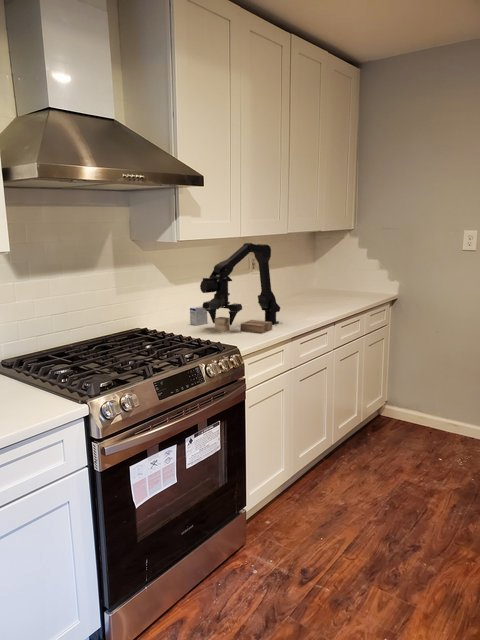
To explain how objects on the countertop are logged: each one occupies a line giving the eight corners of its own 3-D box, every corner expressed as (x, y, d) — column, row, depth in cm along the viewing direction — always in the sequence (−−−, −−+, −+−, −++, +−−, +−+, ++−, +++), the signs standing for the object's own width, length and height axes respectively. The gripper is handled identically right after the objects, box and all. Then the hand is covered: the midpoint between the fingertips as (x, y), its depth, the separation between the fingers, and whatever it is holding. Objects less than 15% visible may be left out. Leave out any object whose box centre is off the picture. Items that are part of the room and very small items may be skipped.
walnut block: (251, 327, 248) (251, 319, 248) (272, 330, 243) (272, 322, 242) (240, 332, 239) (240, 323, 238) (261, 334, 234) (261, 326, 233)
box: (201, 322, 260) (201, 305, 258) (207, 323, 257) (207, 306, 255) (189, 324, 254) (189, 307, 253) (195, 325, 251) (195, 308, 250)
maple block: (220, 329, 244) (220, 316, 243) (229, 330, 242) (229, 317, 241) (214, 330, 240) (214, 318, 239) (223, 332, 238) (223, 319, 236)
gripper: (195, 292, 235) (196, 325, 238) (230, 294, 226) (230, 329, 229) (208, 289, 245) (209, 321, 248) (242, 291, 236) (242, 325, 238)
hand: (222, 324), depth 240 cm, fingers open, 9 cm apart
